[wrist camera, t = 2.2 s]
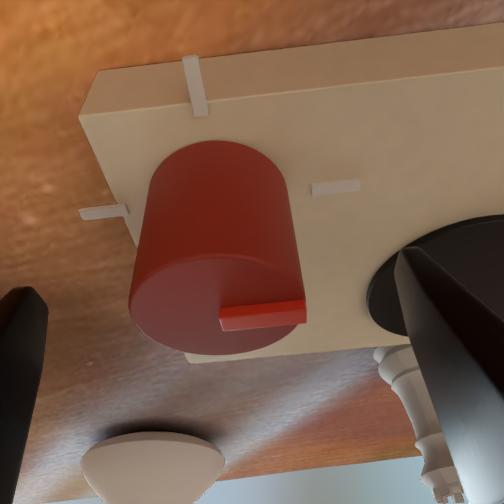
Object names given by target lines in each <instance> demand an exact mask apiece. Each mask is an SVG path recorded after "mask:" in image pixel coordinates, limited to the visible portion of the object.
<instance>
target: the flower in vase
mask: <svg viewBox="0 0 504 504" xmlns="http://www.w3.org/2000/svg"><path fill="white" fill-rule="evenodd" d="M224 463H225V458H224V457H223V455H222V453H221V452H220V450H219V449H218V448H217V447H216V446H215V445H213V444H211V443H209V442H207V441H205V440H202V439H200V438H197V437H194V436H190V435H186V434H181V433H174V432H137V433H130V434H125V435H120V436H116V437H113V438H110V439H107V440H104V441H102V442H99V443H97V444H95V445H93V446H92V447H91V448H90V449H89V450H88V451H87V452H86V454H85V455H84V456H83V457H82V459H81V467H82V473H83V476H84V477H85V479H86V480H87V482H88V484H89V485H90V487H91V488H92V489H93V491H94V492H95V493H96V494H97V495H98V496H99V497H100V498H101V500H102V501H103V502H104V503H105V504H194V503H195V502H196V501H197V500H198V499H199V498H200V497H201V496H202V495H203V494H204V493H205V492H206V491H207V490H208V489H209V488H210V487H211V486H212V485H213V484H214V482H215V481H216V480H217V479H218V477H219V476H220V475H221V473H222V470H223V467H224Z"/></svg>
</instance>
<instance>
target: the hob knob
mask: <svg viewBox="0 0 504 504" xmlns="http://www.w3.org/2000/svg"><path fill="white" fill-rule="evenodd" d="M128 307H129V311H130V315H131V317H132V320H133V322H134V323H135V325H136V326H137V327H138V328H139V330H140V331H141V332H142V333H144V334H145V335H146V336H147V337H149V338H150V339H152V340H154V341H155V342H157V343H159V344H161V345H163V346H166V347H169V348H171V349H174V350H178V351H181V352H186V353H191V354H199V355H233V354H241V353H246V352H251V351H254V350H258V349H261V348H264V347H267V346H269V345H271V344H273V343H276V342H277V341H279V340H281V339H283V338H284V337H285V336H287V335H288V334H289V333H291V332H292V331H293V330H294V329H295V328H296V327H297V325H298V324H305V323H306V322H307V308H306V295H305V289H304V284H303V278H302V272H301V266H300V260H299V255H298V249H297V243H296V237H295V231H294V225H293V220H292V214H291V208H290V202H289V196H288V190H287V186H286V182H285V179H284V177H283V175H282V173H281V172H280V170H279V169H278V167H277V166H276V165H275V164H274V163H273V162H272V161H271V160H270V159H269V158H267V157H266V156H265V155H264V154H262V153H260V152H259V151H257V150H255V149H253V148H251V147H248V146H246V145H243V144H239V143H235V142H229V141H205V142H199V143H195V144H192V145H188V146H186V147H184V148H181V149H179V150H177V151H176V152H174V153H172V154H171V155H170V156H169V157H167V158H166V159H165V160H164V161H163V162H162V163H161V164H160V165H159V166H158V168H157V169H156V171H155V172H154V174H153V176H152V178H151V181H150V185H149V189H148V195H147V200H146V206H145V212H144V217H143V223H142V228H141V234H140V239H139V245H138V250H137V256H136V261H135V267H134V272H133V278H132V283H131V289H130V294H129V304H128Z"/></svg>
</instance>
